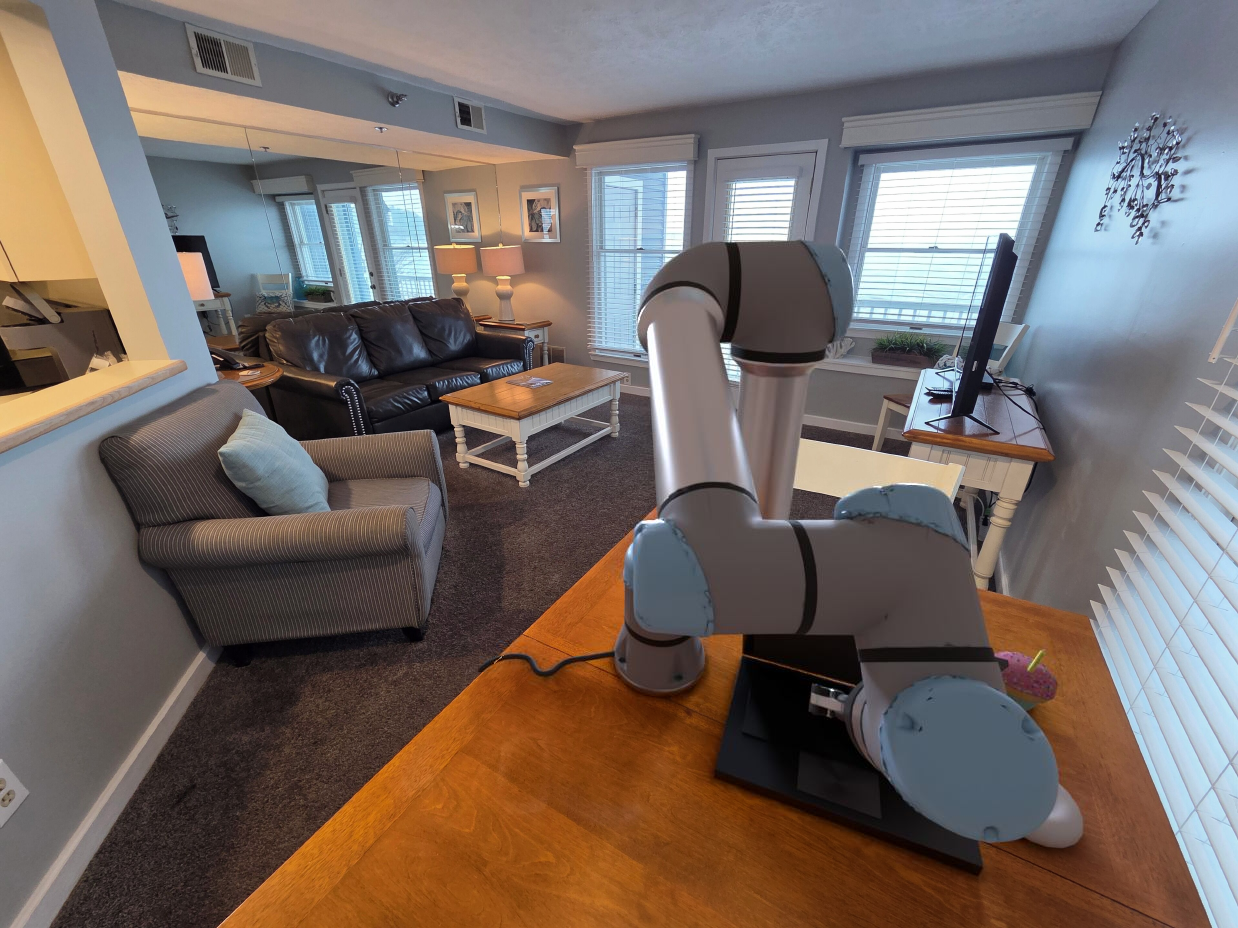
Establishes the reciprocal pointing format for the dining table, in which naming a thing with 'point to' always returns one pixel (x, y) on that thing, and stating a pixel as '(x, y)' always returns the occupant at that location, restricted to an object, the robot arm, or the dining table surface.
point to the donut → (1060, 824)
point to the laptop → (820, 765)
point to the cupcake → (1027, 679)
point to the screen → (814, 654)
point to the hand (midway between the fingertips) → (856, 706)
